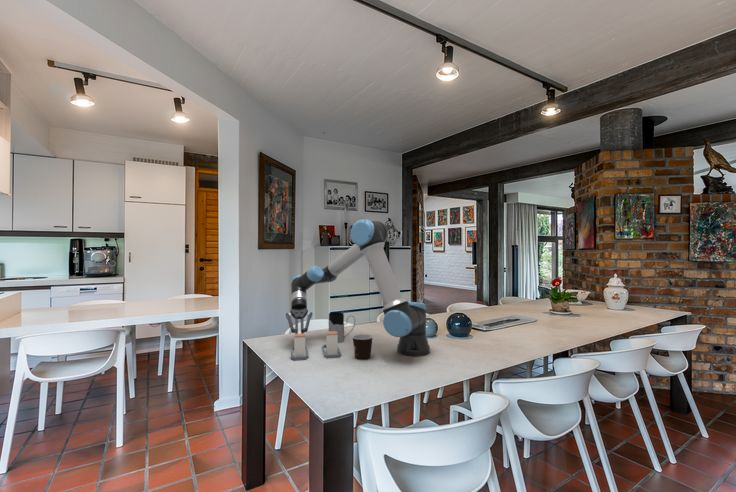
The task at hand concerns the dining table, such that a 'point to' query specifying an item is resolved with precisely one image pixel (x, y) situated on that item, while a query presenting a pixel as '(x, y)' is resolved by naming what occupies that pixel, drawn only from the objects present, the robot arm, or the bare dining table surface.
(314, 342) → the dining table surface
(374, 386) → the dining table surface
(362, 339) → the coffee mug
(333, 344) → the tab
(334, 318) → the grey pitcher
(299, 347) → the tab
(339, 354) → the grey double base frame
